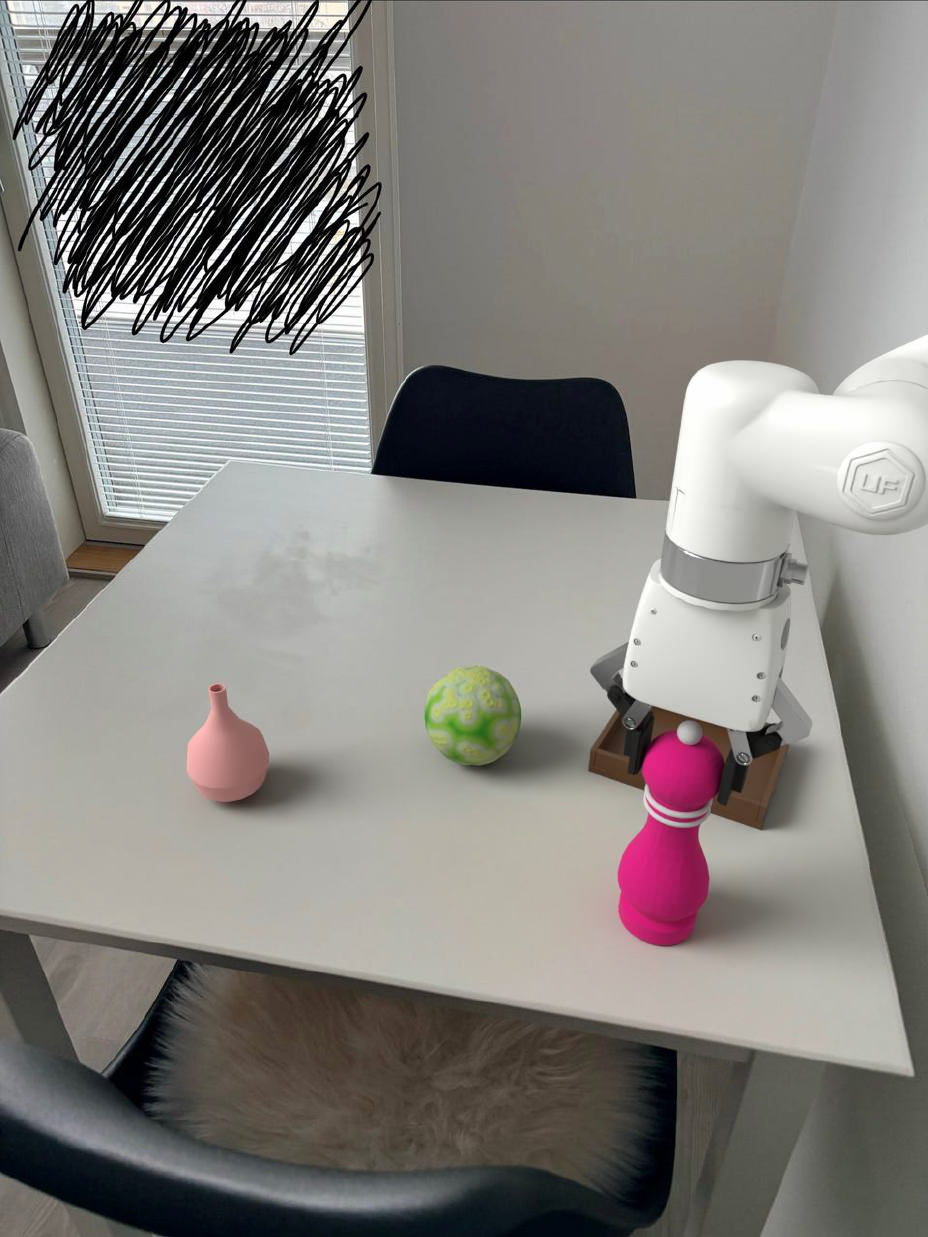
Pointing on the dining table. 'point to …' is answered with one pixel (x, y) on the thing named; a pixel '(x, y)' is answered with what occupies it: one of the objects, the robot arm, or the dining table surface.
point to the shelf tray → (761, 770)
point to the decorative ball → (472, 715)
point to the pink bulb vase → (226, 753)
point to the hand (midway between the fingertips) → (681, 777)
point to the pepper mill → (670, 837)
